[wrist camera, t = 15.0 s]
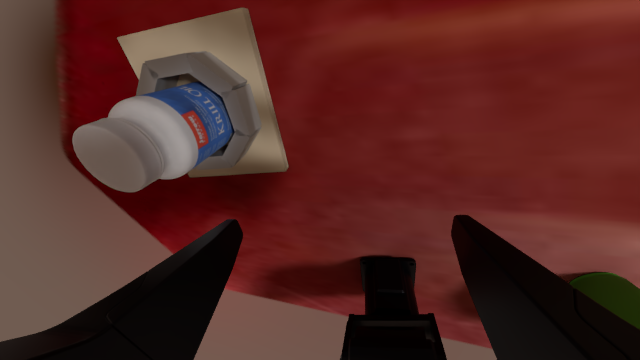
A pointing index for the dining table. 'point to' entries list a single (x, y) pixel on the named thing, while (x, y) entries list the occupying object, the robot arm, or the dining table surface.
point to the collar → (215, 84)
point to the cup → (612, 294)
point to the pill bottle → (154, 136)
